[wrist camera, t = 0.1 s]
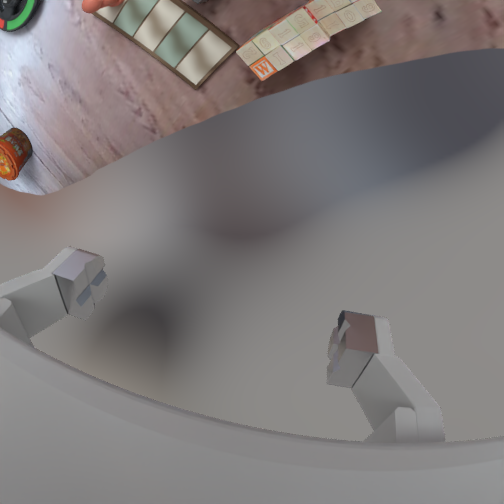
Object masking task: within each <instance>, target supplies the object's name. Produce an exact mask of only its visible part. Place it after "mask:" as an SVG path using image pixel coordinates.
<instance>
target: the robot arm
mask: <svg viewBox="0 0 504 504" xmlns="http://www.w3.org/2000/svg"><path fill="white" fill-rule="evenodd" d="M104 266H105V263H104V259H103V257H102V256H100V255H97V254H94V253H91V252H87V251H84V250H81V249H77V248H74V247H71V246H69V247H66V248H65V249H63V250H62V251H61V252H60V253H59V254H58V255H57V256H56V257H55V258H54V259H53V260H52V261H51V262H50V263H49V264H47V265H46V266H45V267H44V268H43V269H42V270H36V271H33V272H31V273H28V274H26V275H23V276H20V277H18V278H15V279H13V280H10V281H8V282H5V283H3V284H0V504H504V436H500V437H493V438H485V439H476V440H466V441H454V442H445V434H444V427H443V420H442V414H441V408H440V407H439V405H438V404H437V403H436V402H435V400H434V399H433V398H432V397H431V395H430V394H429V393H428V392H427V391H426V389H425V388H424V387H423V386H422V384H421V383H420V382H419V381H418V379H417V378H416V377H415V376H414V374H413V373H412V372H411V371H410V370H409V368H408V367H407V366H406V365H405V364H404V362H402V360H401V359H400V358H399V357H396V356H395V354H394V348H393V342H392V336H391V330H390V325H389V320H388V318H387V317H381V316H375V315H367V314H362V313H356V312H350V311H345V310H343V311H342V312H341V313H340V315H339V318H338V326H337V327H336V328H334V329H333V332H332V334H331V337H330V341H329V346H328V357H329V359H330V360H331V361H330V363H329V365H328V367H327V384H329V385H335V386H341V387H347V388H352V391H353V393H354V395H355V397H356V399H357V401H358V403H359V404H360V406H361V408H362V410H363V411H364V413H365V415H366V417H367V419H368V421H369V423H370V424H371V426H372V428H373V430H374V432H373V433H372V434H371V435H370V436H368V437H367V439H365V440H364V441H363V442H360V441H347V440H336V439H327V438H318V437H310V436H303V435H296V434H290V433H284V432H278V431H272V430H267V429H262V428H257V427H252V426H247V425H242V424H238V423H233V422H229V421H225V420H220V419H217V418H213V417H209V416H206V415H202V414H198V413H195V412H191V411H188V410H184V409H181V408H178V407H175V406H171V405H168V404H165V403H162V402H159V401H156V400H153V399H150V398H148V397H145V396H142V395H139V394H136V393H134V392H131V391H128V390H126V389H123V388H120V387H118V386H115V385H113V384H110V383H108V382H106V381H103V380H101V379H98V378H96V377H94V376H91V375H89V374H87V373H85V372H83V371H80V370H78V369H76V368H74V367H72V366H70V365H67V364H65V363H63V362H61V361H59V360H57V359H55V358H53V357H51V356H49V355H47V354H46V353H44V352H42V351H40V350H38V349H36V348H34V346H33V344H32V342H31V340H30V338H31V337H32V336H34V335H36V334H37V333H39V332H40V331H42V330H44V329H45V328H47V327H49V326H50V325H52V324H54V323H55V322H57V321H59V320H61V319H62V318H64V317H66V316H67V315H68V314H69V315H72V316H74V317H77V318H80V319H83V320H86V319H87V318H88V317H89V315H90V314H91V313H92V311H93V310H94V309H95V303H96V302H98V301H100V300H102V298H103V297H104V296H105V294H106V291H107V288H108V278H107V275H106V273H105V272H104V271H103V267H104Z"/></svg>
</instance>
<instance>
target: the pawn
mask: <svg viewBox="0 0 504 504" xmlns="http://www.w3.org/2000/svg"><path fill="white" fill-rule="evenodd" d="M123 1H124V0H83V2H82V9H83V11H84V12H86V13H94V12H96V11H98V10H99V9H101V8H104V7H107V6H110V7H115V6H118V5H120V4H121V3H122V2H123Z"/></svg>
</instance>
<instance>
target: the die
mask: <svg viewBox="0 0 504 504" xmlns="http://www.w3.org/2000/svg"><path fill="white" fill-rule="evenodd" d="M193 1H194V2H196V3H197V4H199V3H202V2H206V1H208V0H193Z"/></svg>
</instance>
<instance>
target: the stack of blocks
mask: <svg viewBox="0 0 504 504" xmlns="http://www.w3.org/2000/svg"><path fill="white" fill-rule="evenodd" d="M380 12H382V11H381V10H380V8H379V7H378V5H377V4H376V2H375V1H374V0H310V1H309V2H307V3H306V4H304V5H302V6H300V7H299V8H297V9H295V10H294V11H292V12H290V13H289V14H287V15H285V16H284V17H282V18H280V19H278V20H277V21H275V22H273V23H272V24H270V25H269V26H267V27H265V28H264V29H262V30H261V31H259V32H258V33H256V34H255V35H253V36H252V37H251V38H250V39H249V40H248V41H247V42H246V43H244V44H243V45H242V46H241V47H240V48H239V49H238V50H237V51H236V53H237V54H238V55H239V56H240V57H241V58H242V59H243V61H244V62H245V63H246V64H247V65H248V66H249V67H250V68H251V70H252V71H253V72H254V73H255V74H256V75H257V76H258V77H259V79H260V80H261V81H263V80H265V79H266V78H268V77H269V76H271V75H273V74H274V73H276V72H277V71H280V70H281V69H283V68H284V67H286V66H287V65H289V64H291V63H292V62H294V61H296V60H298V59H300V58H301V57H303V56H305V55H306V54H308V53H310V52H311V51H312V50H314V49H316V48H318V47H319V46H321V45H323V44H325V43H326V42H328V41H330V36H333V35H334V34H336V33H338V32H340V31H342V30H344V29H346V28H350V27H352V26H354V25H356V24H358V23H360V22H362V21H364V20H365V19H367V18H369V17H371V16H373V15H375V14H378V13H380Z"/></svg>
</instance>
